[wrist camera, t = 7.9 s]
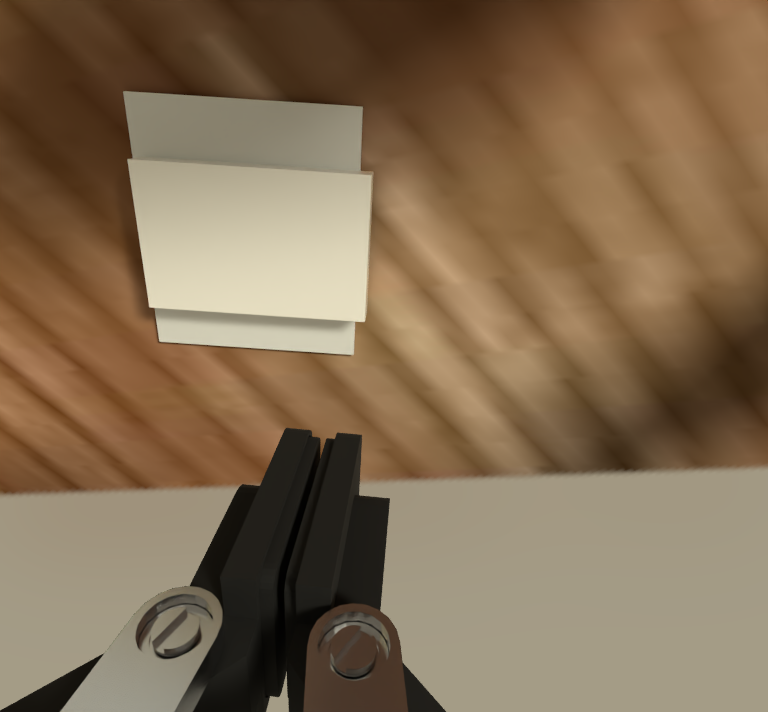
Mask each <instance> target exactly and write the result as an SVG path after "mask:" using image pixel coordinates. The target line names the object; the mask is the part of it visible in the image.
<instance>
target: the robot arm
mask: <svg viewBox="0 0 768 712" xmlns="http://www.w3.org/2000/svg"><path fill="white" fill-rule="evenodd" d="M361 445H362V435H357V434H347V433H337V434H336V437H335V439H329V438H327V439H326V442H325V445H324V449H323V452H322V455H321V459H320V438H318V437H312V431H311V430H303V429H292V428H286V429H285V431H284V433H283V435H282V437H281V439H280V442H279V444H278V446H277V448H276V451H275V453H274V455H273V458H272V460H271V462H270V464H269V467H268V469H267V471H266V473H265V476H264V478H263V480H262V483H261V485H260V486H254V485H244V484H242V485H241V486H240V487H239V488H238V490H237V492H236V494H235V496H234V498H233V500H232V502H231V504H230V506H229V508H228V510H227V512H226V514H225V516H224V518H223V520H222V522H221V524H220V526H219V528H218V530H217V532H216V534H215V536H214V538H213V540H212V542H211V544H210V546H209V548H208V550H207V552H206V554H205V556H204V558H203V560H202V562H201V564H200V566H199V568H198V570H197V572H196V574H195V576H194V578H193V580H192V582H191V585H190V586H184V587H178V588H172V589H170V590H167V591H165V592H162V593H160V594H158V595H156V596H155V597H153V598H151V599H150V600H149V601H147V602H146V603H144V604H143V605H142V606H141V608H140V609H139V610H138V611H137V612H136V613H135V614H134V615H133V616H132V618H131V619H130V620H129V622H128V623H127V624H126V626H125V627H124V628H123V630H122V631H121V632H120V633H119V635H118V636H117V638H116V639H115V640H114V641H113V643H112V644H111V645H110V647H109V648H108V649H107V651H106V652H105V653H104V654H102V655H100V656H98V657H96V658H95V659H93V660H91V661H89V662H88V663H86V664H84V665H82V666H80V667H78V668H77V669H75V670H73V671H71V672H69V673H68V674H66V675H64V676H62V677H60V678H58V679H57V680H55V681H53V682H51V683H49V684H48V685H46V686H44V687H42V688H40V689H39V690H37V691H35V692H33V693H31V694H29V695H28V696H26V697H24V698H22V699H20V700H19V701H17V702H15V703H13V704H11V705H10V706H8V707H6V708H4V709H2V710H0V712H266V709H267V706H268V702H269V698H270V696H275V697H279V696H280V694H281V692H282V688H283V684H284V679H285V676H286V672H287V689H288V690H287V691H288V698H289V712H446V711H445V710H444V709H443V708H442V706H441V705H440V704H439V703H438V702H437V701H436V700H435V699H434V697H433V696H432V695H431V694H430V693H429V692H428V691H427V690H426V688H424V686H423V685H422V684H421V683H420V682H419V681H418V679H417V678H416V677H415V676H414V675H413V674H412V673H411V672H410V670H409V669H408V668H407V667H406V666H405V665H404V664H403V662H402V655H401V646H400V640H399V637H398V633H397V630H396V628H395V626H394V625H393V623H392V622H391V620H390V619H389V618H388V617H387V616H386V615H384V614H383V613H382V612H381V611H380V607H381V596H382V584H383V572H384V560H385V549H386V536H387V525H388V514H389V502H390V499H389V498H379V497H369V496H359V484H360V465H361Z"/></svg>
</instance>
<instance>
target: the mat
mask: <svg viewBox="0 0 768 712" xmlns="http://www.w3.org/2000/svg"><path fill="white" fill-rule="evenodd" d="M123 95H124V101H125V108H126V115H127V122H128V129H129V136H130V143H131V150H132V156H133V158H138V157H157V158H172V159H187V160H203V161H218V162H233V163H248V164H263V165H279V166H294V167H309V168H324V169H340V170H355V171H361V146H362V118H363V107H362V106H346V105H331V104H315V103H300V102H284V101H269V100H254V99H238V98H223V97H207V96H192V95H176V94H161V93H145V92H130V91H123ZM155 315H156V322H157V329H158V335H159V342H171V343H186V344H201V345H215V346H230V347H245V348H259V349H274V350H288V351H303V352H318V353H332V354H347V355H354V338H355V321H341V320H326V319H312V318H297V317H282V316H267V315H253V314H238V313H223V312H208V311H194V310H179V309H164V308H155Z"/></svg>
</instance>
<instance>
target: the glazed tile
mask: <svg viewBox="0 0 768 712" xmlns="http://www.w3.org/2000/svg"><path fill="white" fill-rule="evenodd" d="M127 161H128V168H129V174H130V181H131V188H132V194H133V201H134V208H135V214H136V221H137V228H138V234H139V241H140V248H141V254H142V261H143V268H144V274H145V281H146V288H147V294H148V301H149V307H150V308H164V309H179V310H194V311H208V312H223V313H238V314H253V315H267V316H282V317H297V318H312V319H326V320H341V321H356V322H365V319H366V314H367V299H368V277H369V256H370V235H371V213H372V192H373V172H370V171H355V170H340V169H324V168H309V167H294V166H279V165H263V164H248V163H233V162H218V161H203V160H187V159H172V158H157V157H138V158H131V159H127Z"/></svg>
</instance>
